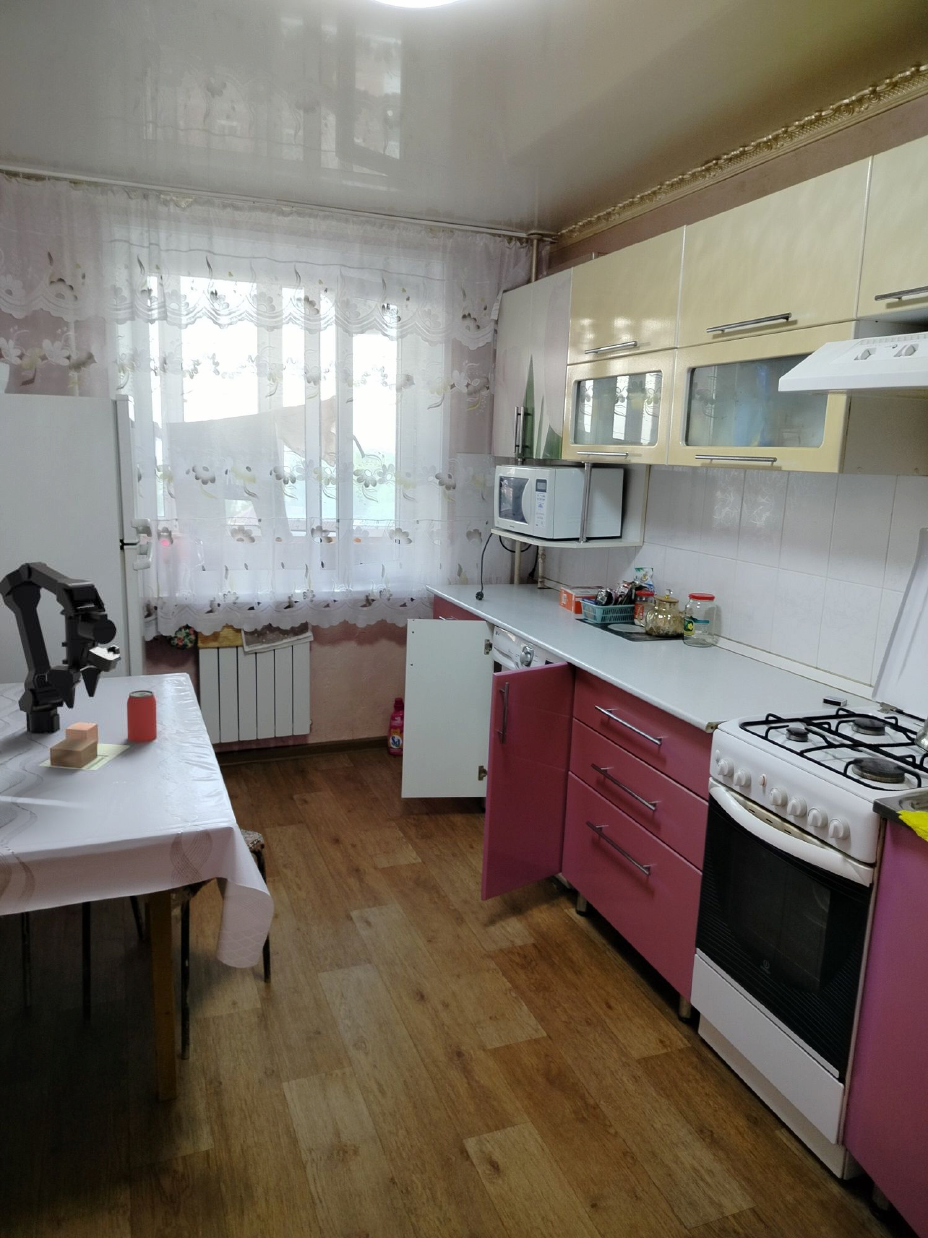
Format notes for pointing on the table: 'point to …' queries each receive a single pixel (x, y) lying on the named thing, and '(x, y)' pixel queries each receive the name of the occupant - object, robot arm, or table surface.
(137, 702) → the beer can
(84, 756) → the base block
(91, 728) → the cube
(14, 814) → the table surface
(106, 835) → the table surface
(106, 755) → the cream mat
